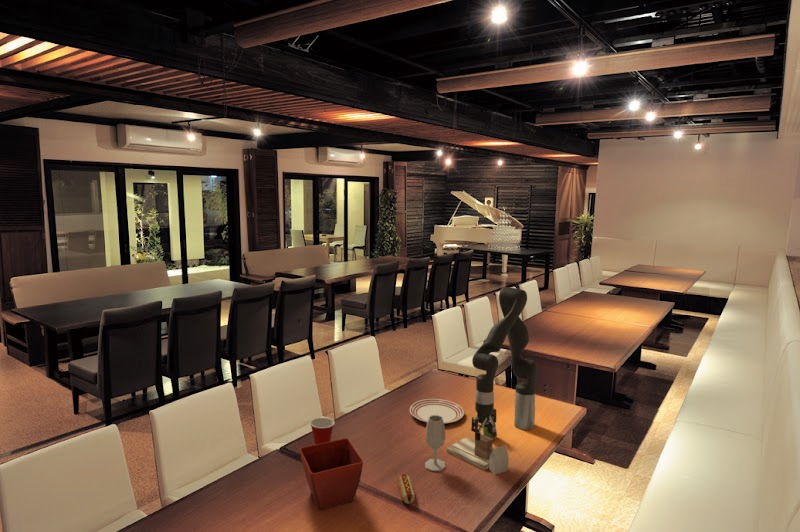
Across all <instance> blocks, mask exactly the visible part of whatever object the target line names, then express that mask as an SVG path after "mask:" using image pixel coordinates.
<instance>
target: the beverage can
mask: <svg viewBox="0 0 800 532" xmlns="http://www.w3.org/2000/svg"><path fill="white" fill-rule="evenodd" d="M493 419H494V417H493ZM487 424H489V423H486V424H485V425H484V427H483V428H482V432H483V434H482V435H485V436H487V437H489V438H492V439H494V440H495V438H497V436H498V432H497V426H496V425H497V424H496V422H494V425H493V433H492V434H490V433H488V432H487Z"/></svg>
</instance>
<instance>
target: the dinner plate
mask: <svg viewBox="0 0 800 532" xmlns="http://www.w3.org/2000/svg"><path fill="white" fill-rule="evenodd" d="M409 413H410V414H411V415H412V416H413V417H414V418H415V419H416V420H419V421H421V422H424V423H427V421H428V418H429V417H430V416H431V415H439V416H442V417H443V421H444V425H445V424H451V423H454V422H455V423H456V422H457V421H459V420H460V419H462V418H463V416H464V415H465V411H464V409H463V407H461V405H459V404H457V403H456V402H453V401H451V400H447V399H439V398H427V399H421V400H417V401H415V402H414V403H412V405H410V407H409Z"/></svg>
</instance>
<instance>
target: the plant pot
mask: <svg viewBox="0 0 800 532" xmlns="http://www.w3.org/2000/svg"><path fill="white" fill-rule="evenodd" d="M299 454H300V460H301V463H302V468H303V472H304V474H305V475H304V476H305V478H306V481H307V485H308V487H309V489H310V492H311V495H312V497H313V499H314V502H315V504H316V506H317V509H318V510H320V511H323V510H327V509H330V508H331V509H332V508H334V507H338V506H341V505H345V504H349V503H352V502H353V501H354V499H355V496H356V494H357V491H358V488H359V485H360V482H361V476H362V473H363V472H362V471H363V465H364V460H363V459H362V457H361V456H360V454H359V453H358V451H357V450H356V448H355V447H354V445H353V444H352V442H351V440H350V439H349V438H345V437H344V438H340V439H336V440H330V442H325V443H320V444H316V445H315V444H312V445H307V446H301V447H300V448H299Z"/></svg>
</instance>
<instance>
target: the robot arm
mask: <svg viewBox="0 0 800 532" xmlns="http://www.w3.org/2000/svg"><path fill="white" fill-rule="evenodd" d="M527 301H528V294H527V291H525V289H521V288H517V287H516V288H515V287H509V286H505V287H502V288H501V289H500V291H499V294H498V302H499V306H500V310H501V312H502V316H503V318H501V319H500V320H498V321H497V322H496V323H495V324H494V325H493V326H492V327H491V328H490V330H489V333H488V334H487V336H486V338H485V341H484V342H483V343H482V344H481V346H479V348H477V350H476V351H475V353H474V354H473V356H472V359H471V360H472V366H473V367H474V368H475V369H476V370H477V369H478V370H480V371H485V372H486V373H481V374H478V375H477V376H476V380H475V381H476V382H475V384H476V387H475V389H476V390H475V400H474V401H475V402H474V404H475V405H474V410H475V411H476V413H477V414H476V417H472V418H471V429H470V431H471V432H473V433H474V440H477V441H480V434H482V433H481V431H482V430H483V427H484V425H485V424H486V423H489V424H487V432H488V433H490V434H492V433H493V425H494V422H495V423H497V408H494V407H495V406H494V405H495V394H494V393H495V392H494V386H495V385H494V381H495V378H496V374H497V371H498V368H499V359H498V357H497V356H496V355H495V354H491V353H498V352H500V351H501V349H502V346H503V345H504V343H505V341H506V338H507V339H508V343H509V349H510V354H511V356H510V357H511V365H512V373H513V374H514V376H515V377H517V378H521V379H526V380H527V381H525V382H524V381H523V382H519V383H517V384H516V385H515V394H514V396H515V398H514V399H515V400H514V401H515V402H514V423H513V425H514V426H515V427H516V428H517V429H519V430H525V431H527V430H528V431H529V430H532V429H534V427H535V420H536V388H537V378H538V376H537V375H538V369H539V368H538V367H539V366H538V362H537V361H536V360H533V359H528V358H524V357H522V355H521V354H522V353H523V351H524V350H525V349H526V347H527V346H528V344H529V343H530V337H529V331H528V327H527V325H526V324H525V322H524V321H523V320H522V318H521V317H520V315H521V314H522V313H523V311H524V309H525V307H526V305H527ZM493 417H494V419H493Z"/></svg>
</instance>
